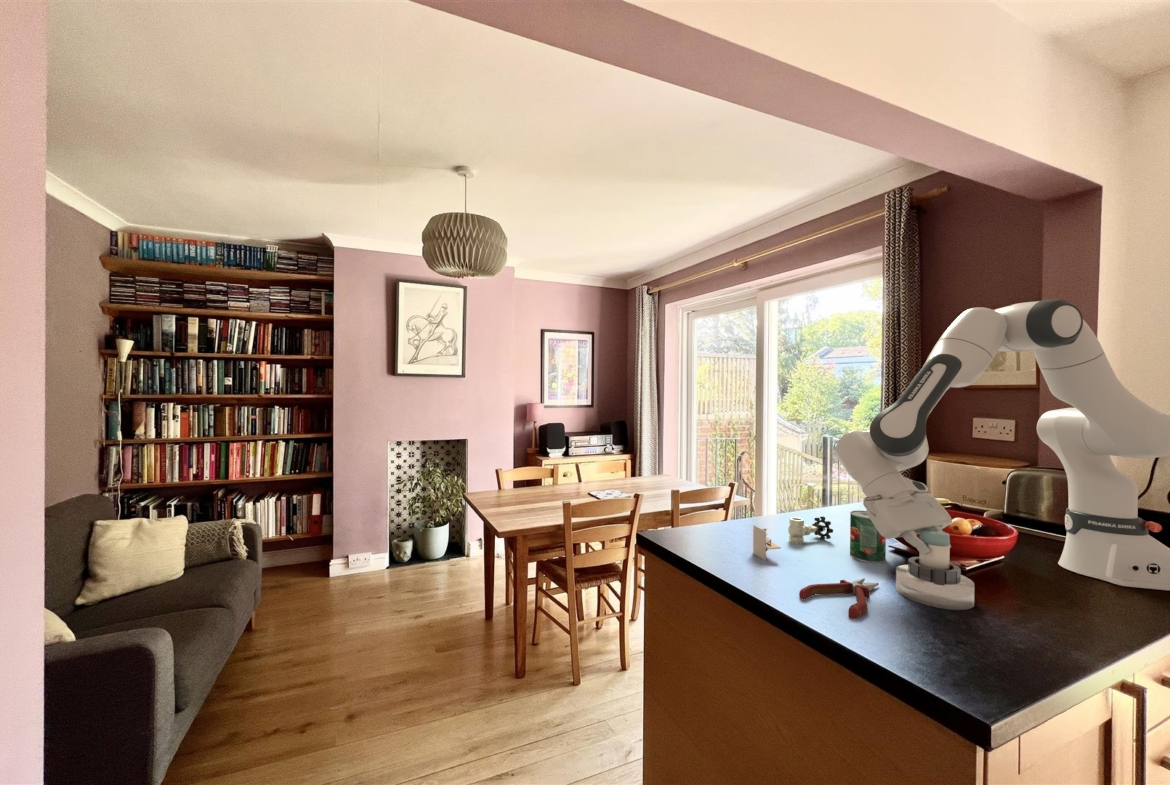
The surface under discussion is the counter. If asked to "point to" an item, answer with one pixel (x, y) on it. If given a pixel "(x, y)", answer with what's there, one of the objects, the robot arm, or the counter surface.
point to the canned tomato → (866, 539)
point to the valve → (807, 529)
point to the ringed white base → (935, 585)
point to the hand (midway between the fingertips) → (937, 551)
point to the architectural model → (761, 542)
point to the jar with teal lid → (935, 549)
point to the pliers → (844, 588)
